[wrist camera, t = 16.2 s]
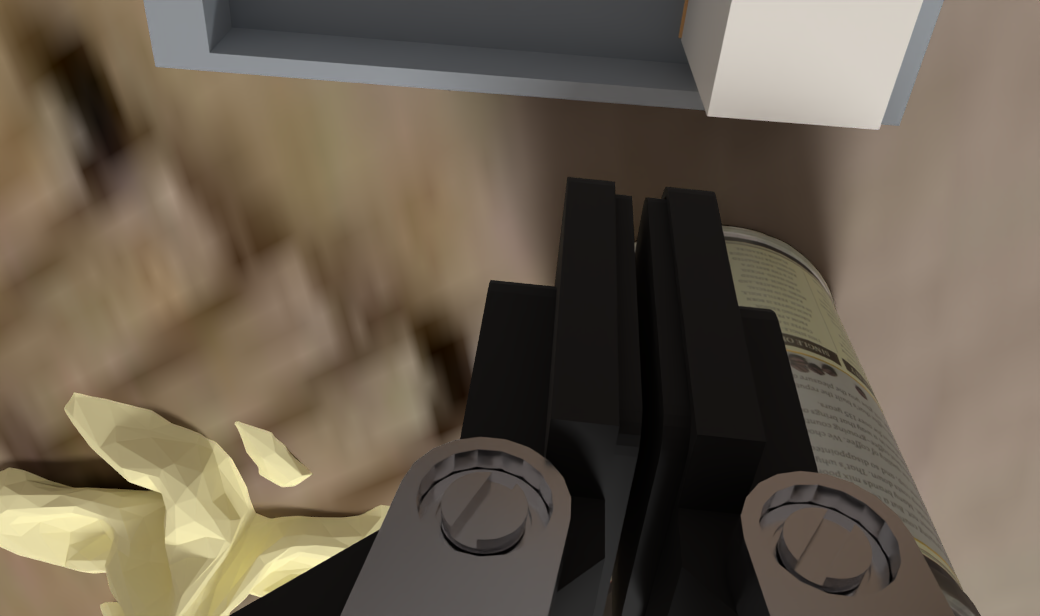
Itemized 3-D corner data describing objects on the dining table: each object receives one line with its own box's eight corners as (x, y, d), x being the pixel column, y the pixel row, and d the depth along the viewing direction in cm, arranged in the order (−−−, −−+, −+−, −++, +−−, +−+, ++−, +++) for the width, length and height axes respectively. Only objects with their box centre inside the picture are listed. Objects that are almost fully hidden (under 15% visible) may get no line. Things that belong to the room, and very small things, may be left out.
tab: (869, -104, 22) (940, -51, 18) (824, 52, 24) (878, 129, 20) (710, -118, 22) (745, -68, 18) (681, 40, 24) (707, 115, 20)
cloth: (491, 583, 43) (483, 703, 38) (211, 681, 49) (173, 796, 44) (163, 251, 32) (91, 360, 27) (-146, 432, 38) (-251, 549, 33)
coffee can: (839, 419, 35) (978, 784, 24) (584, 452, 36) (598, 810, 25) (839, 196, 29) (1024, 540, 18) (533, 247, 30) (523, 593, 19)
